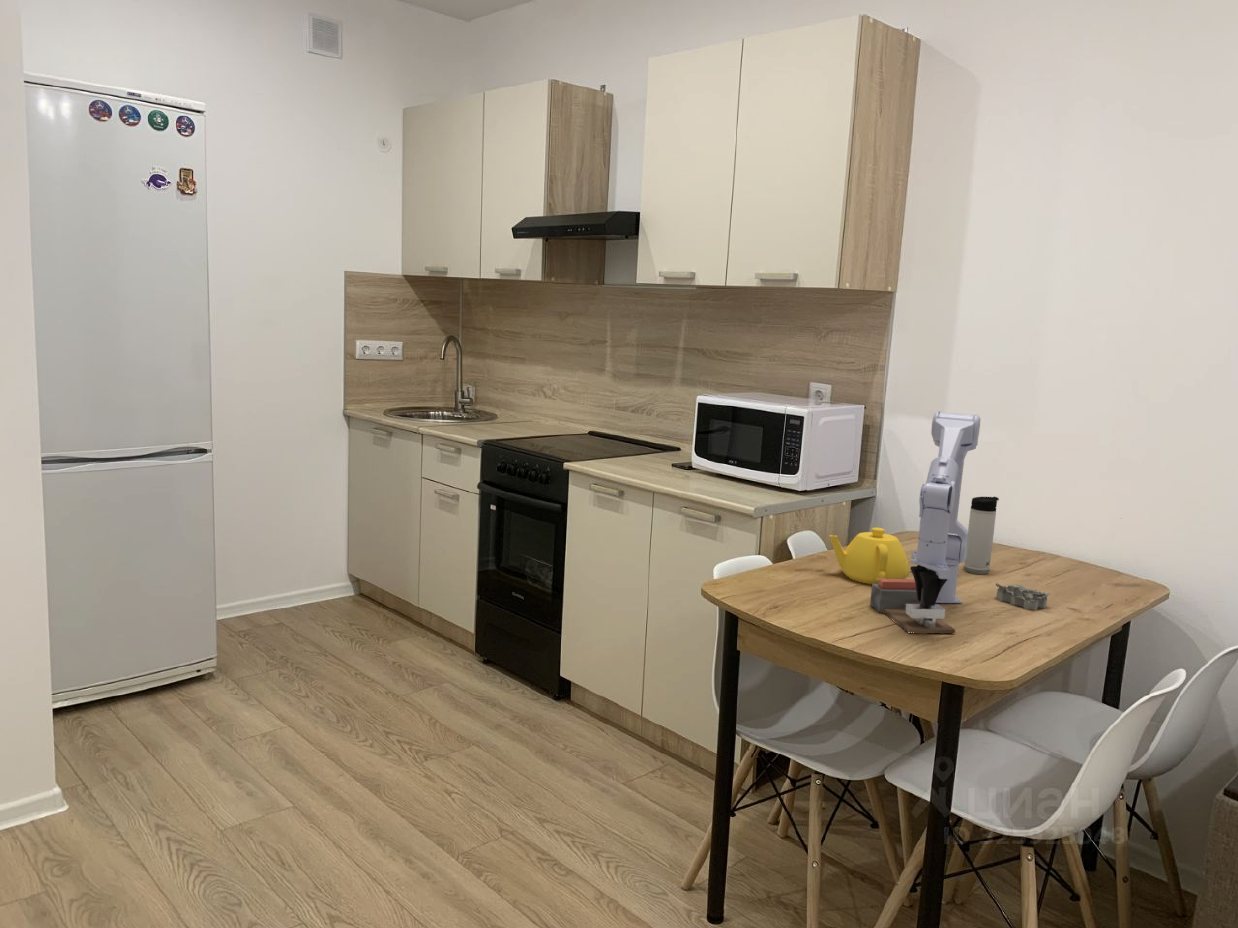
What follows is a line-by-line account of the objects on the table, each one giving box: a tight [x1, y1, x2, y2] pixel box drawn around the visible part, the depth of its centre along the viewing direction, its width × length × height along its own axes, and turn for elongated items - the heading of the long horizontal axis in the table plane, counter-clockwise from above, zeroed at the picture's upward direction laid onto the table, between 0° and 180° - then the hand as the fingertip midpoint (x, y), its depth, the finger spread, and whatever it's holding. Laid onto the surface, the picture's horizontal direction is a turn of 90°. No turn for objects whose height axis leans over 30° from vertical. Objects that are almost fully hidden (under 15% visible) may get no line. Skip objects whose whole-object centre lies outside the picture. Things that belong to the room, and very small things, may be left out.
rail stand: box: [869, 584, 956, 634], centre depth 204 cm, size 19×12×5 cm, turn 6°
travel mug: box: [963, 496, 1000, 575], centre depth 247 cm, size 6×7×20 cm
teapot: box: [829, 526, 910, 585], centre depth 235 cm, size 20×19×13 cm
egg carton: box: [995, 583, 1051, 611], centre depth 221 cm, size 11×8×4 cm
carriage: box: [905, 587, 946, 624], centre depth 198 cm, size 4×7×7 cm, turn 96°
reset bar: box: [878, 578, 916, 589], centre depth 211 cm, size 2×10×2 cm, turn 96°
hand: (926, 602), depth 198 cm, fingers closed on carriage, 2 cm apart
